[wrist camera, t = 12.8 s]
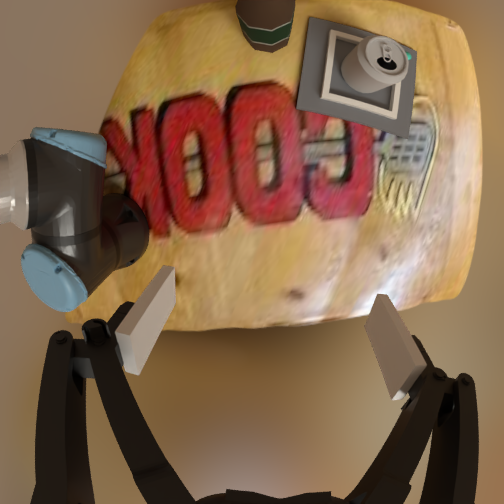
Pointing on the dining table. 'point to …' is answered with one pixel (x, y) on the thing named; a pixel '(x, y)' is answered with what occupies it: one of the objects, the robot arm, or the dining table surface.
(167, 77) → the dining table surface
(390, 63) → the can
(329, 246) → the dining table surface
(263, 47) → the beer bottle
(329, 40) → the dock
